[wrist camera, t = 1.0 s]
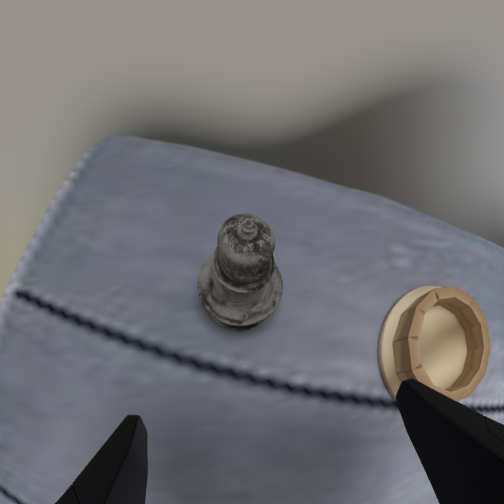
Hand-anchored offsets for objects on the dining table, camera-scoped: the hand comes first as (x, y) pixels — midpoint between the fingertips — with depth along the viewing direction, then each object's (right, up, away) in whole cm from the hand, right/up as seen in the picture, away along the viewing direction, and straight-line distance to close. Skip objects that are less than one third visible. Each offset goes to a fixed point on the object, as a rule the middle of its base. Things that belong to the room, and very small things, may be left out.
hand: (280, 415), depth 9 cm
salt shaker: (-2, +1, +16) cm, 16 cm away
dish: (+16, -4, +14) cm, 22 cm away
